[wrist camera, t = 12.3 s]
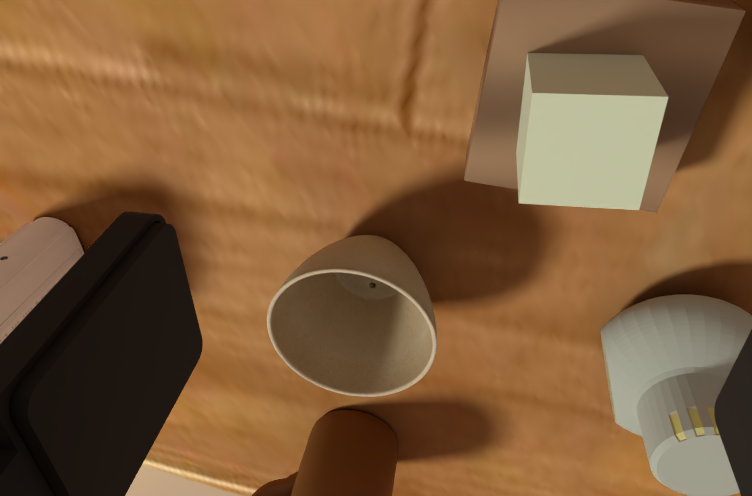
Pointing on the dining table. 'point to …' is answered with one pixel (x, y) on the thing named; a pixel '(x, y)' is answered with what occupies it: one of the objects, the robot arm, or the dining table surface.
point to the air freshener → (676, 384)
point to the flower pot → (355, 319)
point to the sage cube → (587, 129)
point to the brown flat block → (601, 36)
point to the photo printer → (33, 267)
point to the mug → (343, 459)
